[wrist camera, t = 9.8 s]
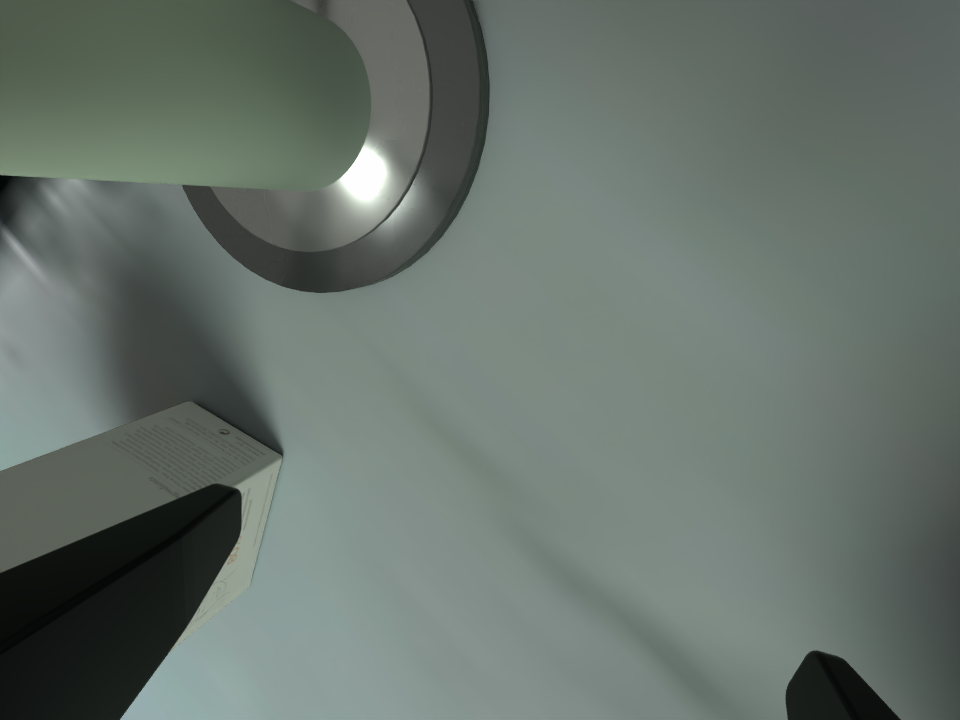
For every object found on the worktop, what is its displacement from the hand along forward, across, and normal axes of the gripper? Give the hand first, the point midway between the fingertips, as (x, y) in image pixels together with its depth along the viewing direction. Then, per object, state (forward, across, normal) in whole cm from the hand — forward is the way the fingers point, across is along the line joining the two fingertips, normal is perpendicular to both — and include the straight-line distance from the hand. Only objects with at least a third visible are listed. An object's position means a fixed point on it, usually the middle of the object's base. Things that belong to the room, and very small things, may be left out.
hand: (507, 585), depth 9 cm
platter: (+14, +10, -5) cm, 18 cm away
